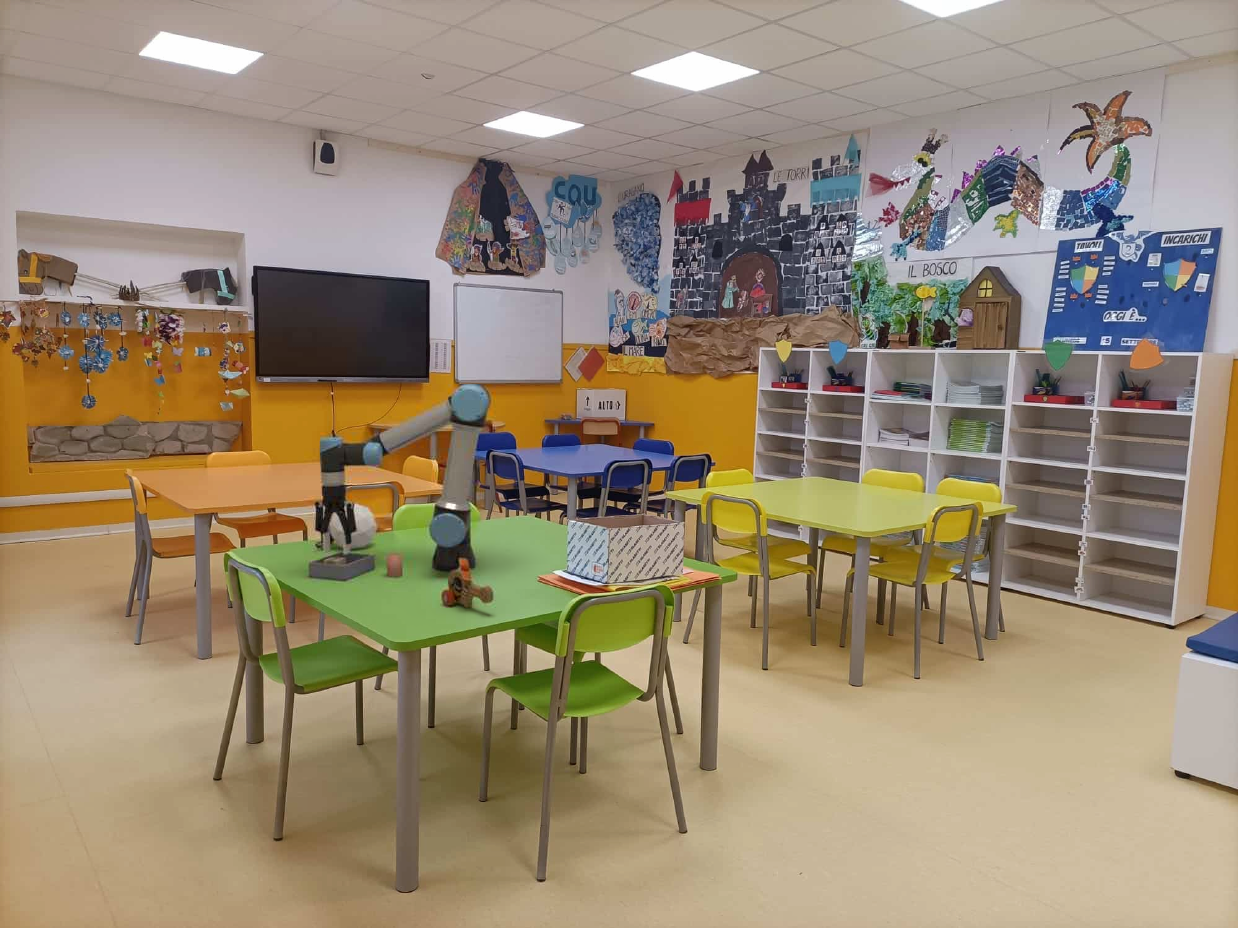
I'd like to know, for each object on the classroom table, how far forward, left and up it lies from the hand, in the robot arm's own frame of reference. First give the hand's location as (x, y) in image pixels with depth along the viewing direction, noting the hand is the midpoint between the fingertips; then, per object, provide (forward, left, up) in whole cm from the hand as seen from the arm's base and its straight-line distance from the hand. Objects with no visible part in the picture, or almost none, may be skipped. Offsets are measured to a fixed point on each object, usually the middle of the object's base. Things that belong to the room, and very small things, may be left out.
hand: (336, 552), depth 288 cm
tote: (+1, -4, -8) cm, 9 cm away
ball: (+23, -38, -8) cm, 45 cm away
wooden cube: (+1, 0, -7) cm, 7 cm away
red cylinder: (-17, -7, -8) cm, 20 cm away
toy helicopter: (-57, +19, -8) cm, 61 cm away
